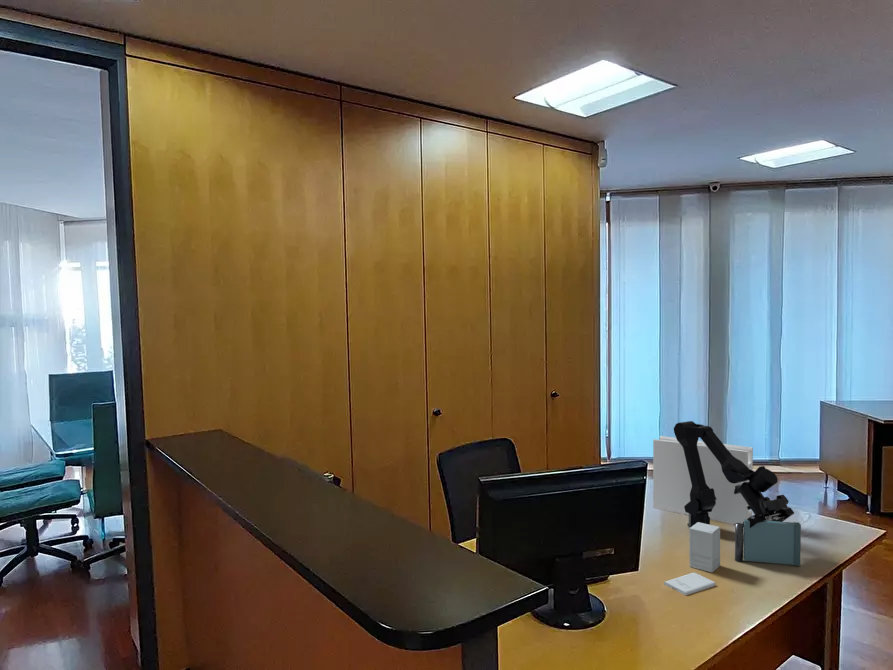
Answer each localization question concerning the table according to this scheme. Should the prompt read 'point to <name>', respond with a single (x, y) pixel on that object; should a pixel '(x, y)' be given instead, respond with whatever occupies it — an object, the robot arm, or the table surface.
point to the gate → (772, 542)
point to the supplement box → (704, 546)
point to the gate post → (739, 542)
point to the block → (676, 481)
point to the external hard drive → (689, 583)
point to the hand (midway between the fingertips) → (784, 543)
